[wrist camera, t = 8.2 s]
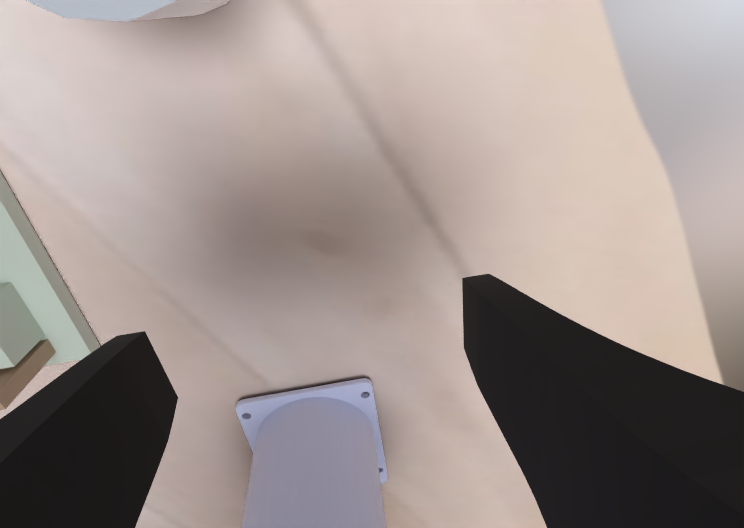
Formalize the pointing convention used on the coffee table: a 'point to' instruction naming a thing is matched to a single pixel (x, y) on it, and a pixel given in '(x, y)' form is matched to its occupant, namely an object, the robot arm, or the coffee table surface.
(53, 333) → the display cradle
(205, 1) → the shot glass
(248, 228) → the coffee table surface
